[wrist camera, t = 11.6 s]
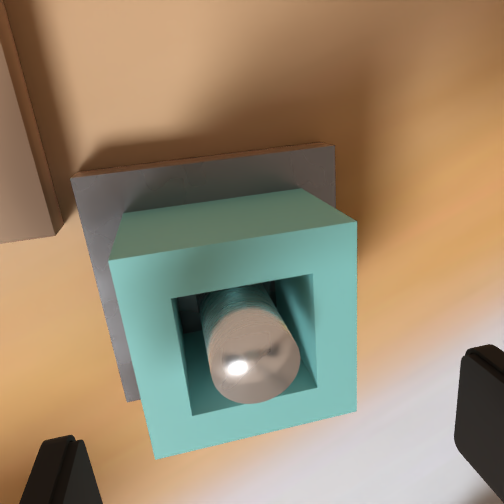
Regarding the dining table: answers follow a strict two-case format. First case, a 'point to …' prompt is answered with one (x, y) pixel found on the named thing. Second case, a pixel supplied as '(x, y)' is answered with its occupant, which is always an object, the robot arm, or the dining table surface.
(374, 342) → the dining table surface
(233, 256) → the collar
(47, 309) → the dining table surface
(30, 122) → the stand
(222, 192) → the grey peg base
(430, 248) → the dining table surface
